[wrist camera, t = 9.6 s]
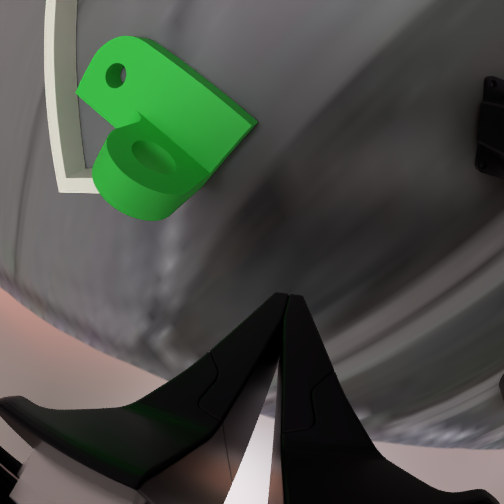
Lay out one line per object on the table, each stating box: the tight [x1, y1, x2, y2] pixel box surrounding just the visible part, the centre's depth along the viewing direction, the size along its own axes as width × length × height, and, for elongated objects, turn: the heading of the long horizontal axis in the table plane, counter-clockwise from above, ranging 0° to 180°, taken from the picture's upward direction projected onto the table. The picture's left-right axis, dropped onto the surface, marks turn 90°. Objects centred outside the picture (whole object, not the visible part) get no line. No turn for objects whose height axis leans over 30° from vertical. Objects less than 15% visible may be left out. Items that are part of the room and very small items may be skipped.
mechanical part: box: [75, 36, 258, 221], centre depth 16 cm, size 12×6×8 cm, turn 49°
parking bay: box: [44, 0, 99, 193], centre depth 17 cm, size 10×19×2 cm, turn 0°
